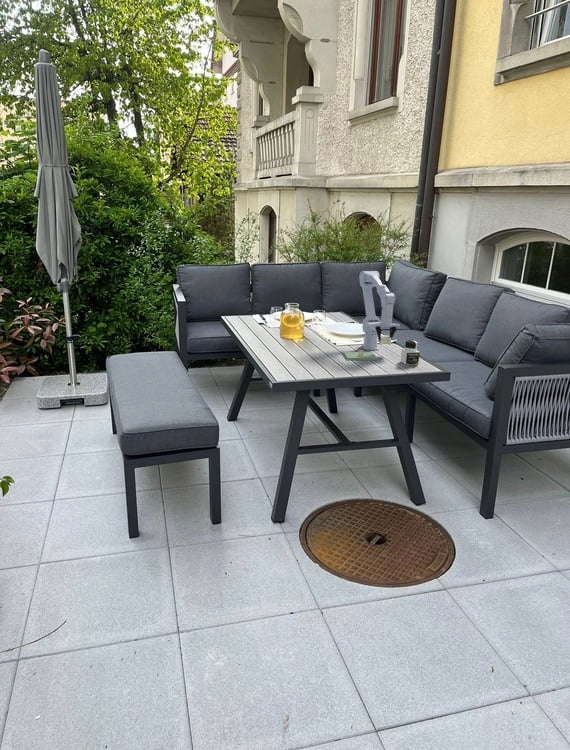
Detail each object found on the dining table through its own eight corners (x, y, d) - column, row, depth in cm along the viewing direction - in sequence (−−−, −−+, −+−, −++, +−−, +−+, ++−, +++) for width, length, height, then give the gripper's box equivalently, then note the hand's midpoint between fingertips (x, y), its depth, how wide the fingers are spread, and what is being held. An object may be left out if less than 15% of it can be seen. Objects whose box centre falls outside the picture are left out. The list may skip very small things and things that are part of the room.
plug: (378, 342, 310) (379, 335, 309) (388, 342, 310) (388, 335, 309) (380, 344, 305) (381, 337, 304) (390, 344, 305) (391, 337, 304)
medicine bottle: (405, 365, 292) (407, 342, 289) (400, 361, 299) (402, 339, 295) (418, 365, 294) (420, 342, 290) (412, 361, 300) (415, 339, 297)
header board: (343, 354, 310) (343, 346, 309) (372, 354, 311) (372, 346, 310) (347, 360, 298) (347, 352, 297) (377, 360, 300) (377, 352, 298)
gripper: (375, 317, 299) (373, 342, 303) (402, 317, 300) (399, 342, 304) (372, 314, 305) (370, 339, 309) (398, 315, 307) (396, 339, 311)
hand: (384, 340), depth 307 cm, fingers closed on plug, 5 cm apart
